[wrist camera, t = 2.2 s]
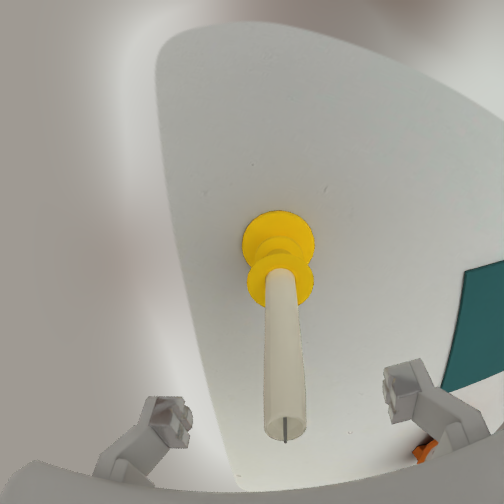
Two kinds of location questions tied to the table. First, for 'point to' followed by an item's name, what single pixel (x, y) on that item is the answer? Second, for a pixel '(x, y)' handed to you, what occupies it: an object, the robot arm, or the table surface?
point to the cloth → (478, 329)
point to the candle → (281, 313)
